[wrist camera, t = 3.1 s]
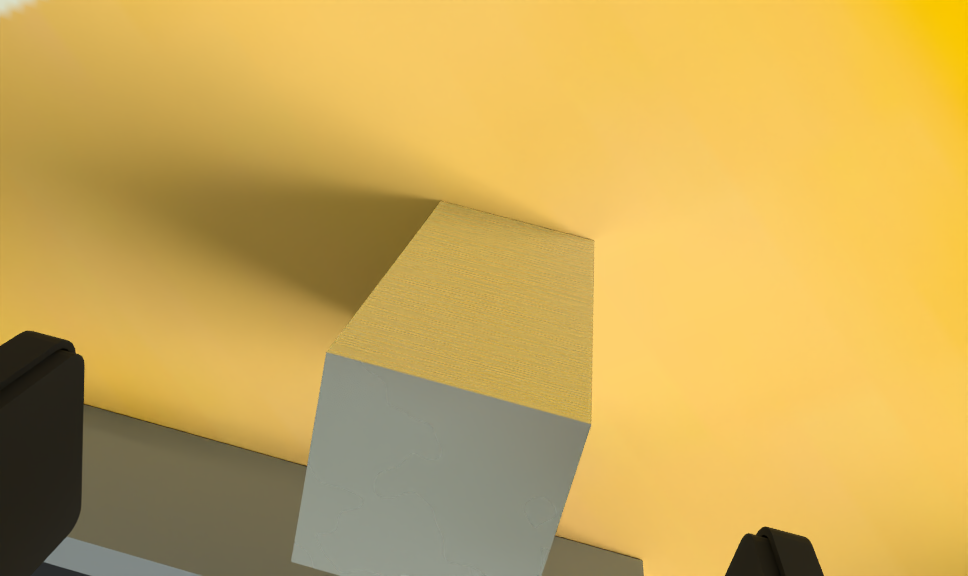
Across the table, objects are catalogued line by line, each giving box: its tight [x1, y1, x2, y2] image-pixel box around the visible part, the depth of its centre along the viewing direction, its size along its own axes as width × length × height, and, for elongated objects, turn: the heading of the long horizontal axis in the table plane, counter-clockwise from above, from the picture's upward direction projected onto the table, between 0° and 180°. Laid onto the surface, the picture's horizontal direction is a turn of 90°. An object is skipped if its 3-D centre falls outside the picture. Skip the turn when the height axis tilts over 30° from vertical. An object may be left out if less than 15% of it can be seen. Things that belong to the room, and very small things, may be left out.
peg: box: [291, 201, 594, 576], centre depth 16 cm, size 4×4×9 cm
